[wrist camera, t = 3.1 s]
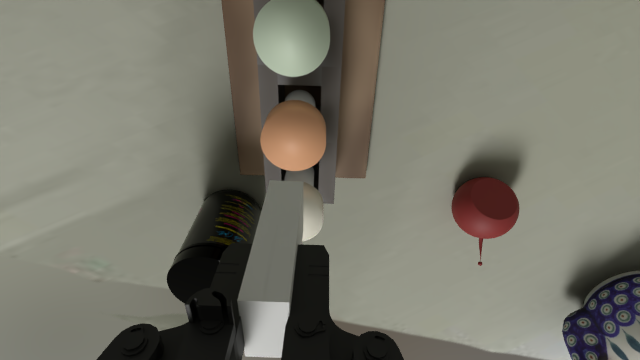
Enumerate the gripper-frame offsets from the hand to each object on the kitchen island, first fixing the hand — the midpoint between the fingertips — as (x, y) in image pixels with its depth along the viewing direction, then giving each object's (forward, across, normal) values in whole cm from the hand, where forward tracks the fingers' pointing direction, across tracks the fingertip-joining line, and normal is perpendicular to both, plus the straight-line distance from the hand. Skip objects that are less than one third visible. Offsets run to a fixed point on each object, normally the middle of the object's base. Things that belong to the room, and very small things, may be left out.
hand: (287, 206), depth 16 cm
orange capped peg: (+13, 0, 0) cm, 13 cm away
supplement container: (+18, -8, -14) cm, 25 cm away
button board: (+18, 0, 0) cm, 18 cm away
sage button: (+13, 0, +6) cm, 14 cm away
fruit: (+19, +18, -12) cm, 29 cm away
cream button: (+13, 0, -6) cm, 14 cm away
